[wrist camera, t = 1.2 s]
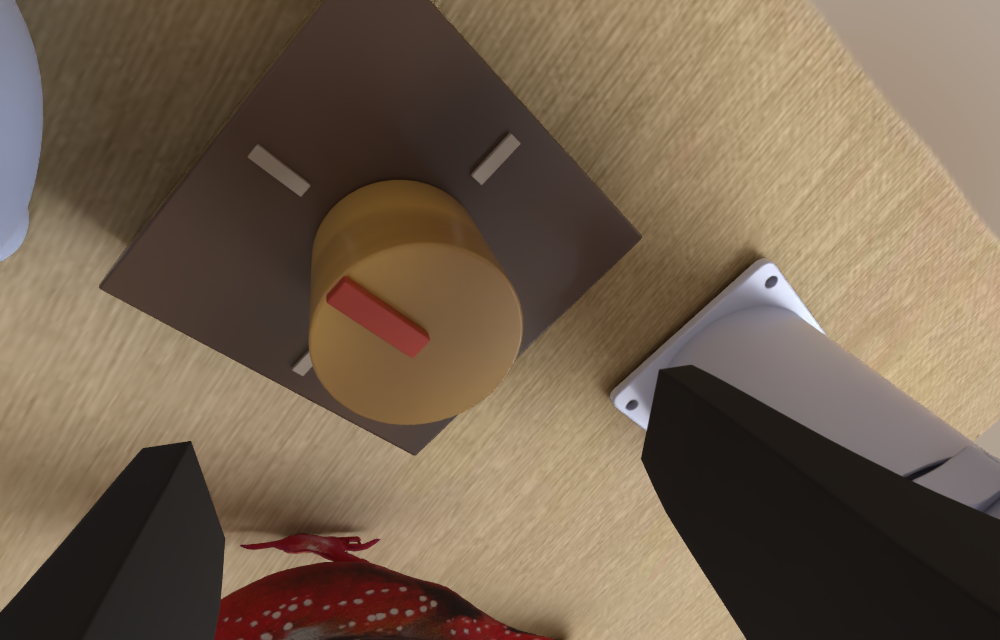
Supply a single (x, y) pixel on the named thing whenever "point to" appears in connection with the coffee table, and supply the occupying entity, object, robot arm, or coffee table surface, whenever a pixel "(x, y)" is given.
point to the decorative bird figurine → (350, 602)
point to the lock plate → (352, 165)
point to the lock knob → (408, 306)
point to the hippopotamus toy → (17, 126)
